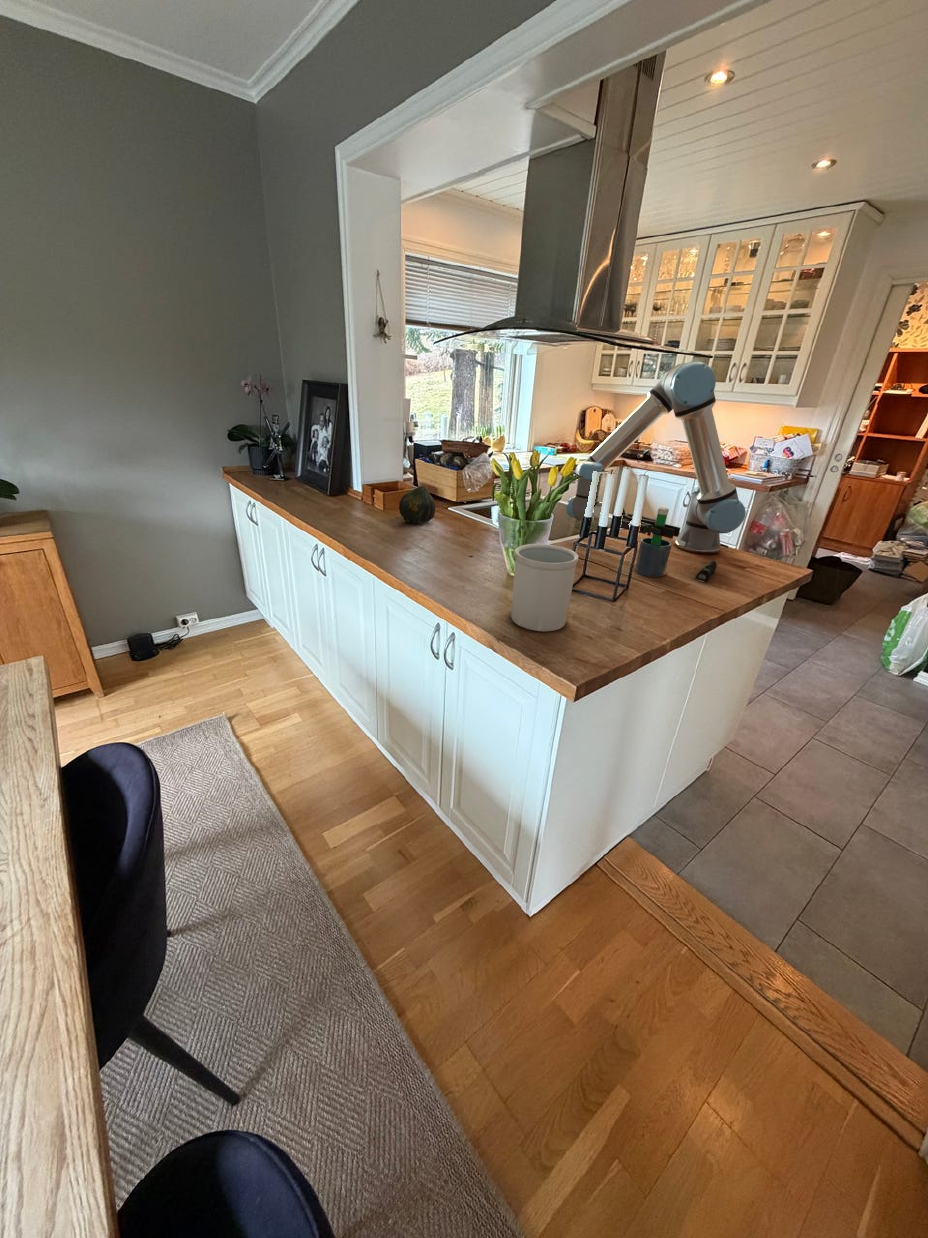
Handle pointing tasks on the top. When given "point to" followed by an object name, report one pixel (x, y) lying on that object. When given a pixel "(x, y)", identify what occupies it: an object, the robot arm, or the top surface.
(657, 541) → the green marker
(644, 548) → the cup
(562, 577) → the utensil holder
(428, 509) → the squash
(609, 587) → the top surface
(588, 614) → the top surface
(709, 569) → the electric trimmer
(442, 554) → the top surface
